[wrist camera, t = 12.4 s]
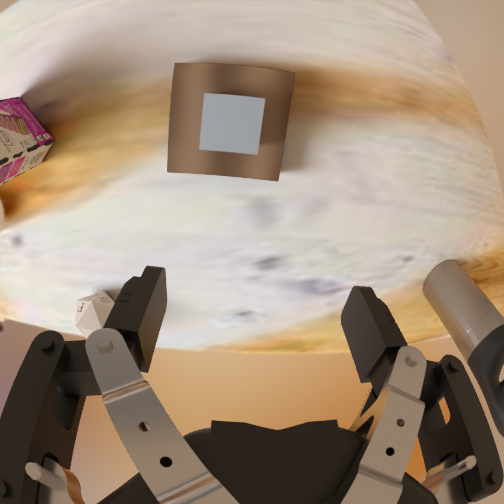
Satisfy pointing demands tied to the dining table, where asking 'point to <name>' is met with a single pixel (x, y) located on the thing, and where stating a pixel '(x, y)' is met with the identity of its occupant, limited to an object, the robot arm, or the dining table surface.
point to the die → (93, 312)
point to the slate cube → (231, 123)
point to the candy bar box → (20, 139)
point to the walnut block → (231, 83)
